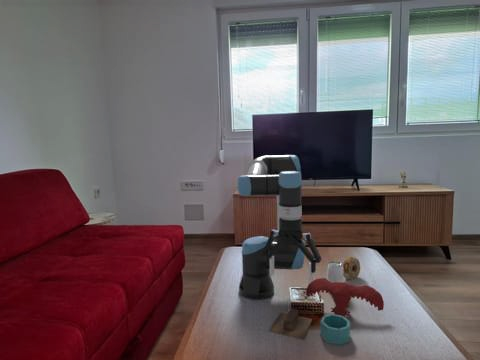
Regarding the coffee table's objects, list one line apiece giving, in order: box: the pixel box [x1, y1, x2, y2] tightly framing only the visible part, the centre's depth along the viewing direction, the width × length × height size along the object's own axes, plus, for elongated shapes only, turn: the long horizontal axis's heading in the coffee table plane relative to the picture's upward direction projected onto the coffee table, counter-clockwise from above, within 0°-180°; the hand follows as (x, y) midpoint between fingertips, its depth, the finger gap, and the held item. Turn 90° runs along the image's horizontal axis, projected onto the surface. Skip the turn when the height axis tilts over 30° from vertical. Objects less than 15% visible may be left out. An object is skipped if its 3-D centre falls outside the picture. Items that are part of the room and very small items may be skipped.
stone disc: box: [342, 256, 361, 281], centre depth 147 cm, size 10×4×10 cm, turn 125°
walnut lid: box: [269, 308, 313, 340], centre depth 112 cm, size 12×12×5 cm
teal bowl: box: [320, 313, 351, 346], centre depth 105 cm, size 9×9×5 cm
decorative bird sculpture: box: [305, 277, 385, 319], centre depth 120 cm, size 28×9×15 cm
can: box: [326, 260, 344, 282], centre depth 136 cm, size 6×6×12 cm
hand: (290, 278), depth 110 cm, fingers open, 13 cm apart
